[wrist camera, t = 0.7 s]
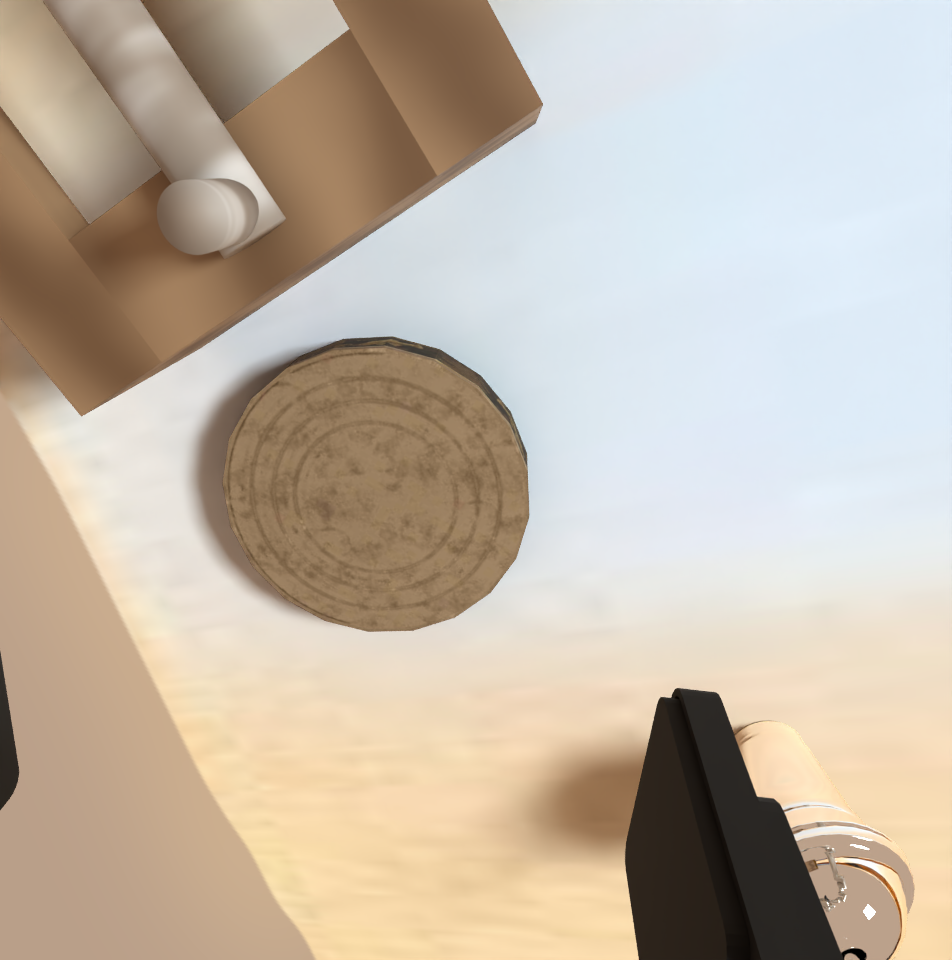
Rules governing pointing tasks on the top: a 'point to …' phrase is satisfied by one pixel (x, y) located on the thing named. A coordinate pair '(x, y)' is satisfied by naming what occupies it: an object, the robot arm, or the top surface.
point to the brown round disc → (378, 484)
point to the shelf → (304, 163)
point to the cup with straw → (833, 844)
